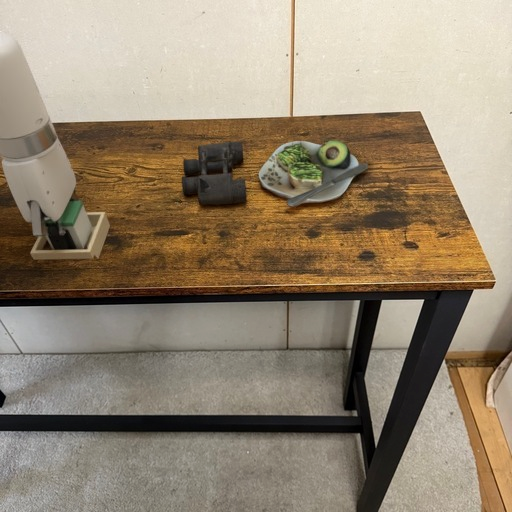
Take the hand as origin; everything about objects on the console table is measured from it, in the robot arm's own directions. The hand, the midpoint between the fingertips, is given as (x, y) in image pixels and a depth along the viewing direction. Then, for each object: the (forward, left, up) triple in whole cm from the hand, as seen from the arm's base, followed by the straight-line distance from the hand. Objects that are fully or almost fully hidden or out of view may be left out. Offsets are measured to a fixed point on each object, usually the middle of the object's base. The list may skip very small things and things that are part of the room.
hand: (71, 236), depth 72 cm
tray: (0, 0, -2) cm, 2 cm away
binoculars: (+27, -3, -2) cm, 27 cm away
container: (0, 0, 0) cm, 0 cm away
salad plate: (+41, -14, -2) cm, 43 cm away
